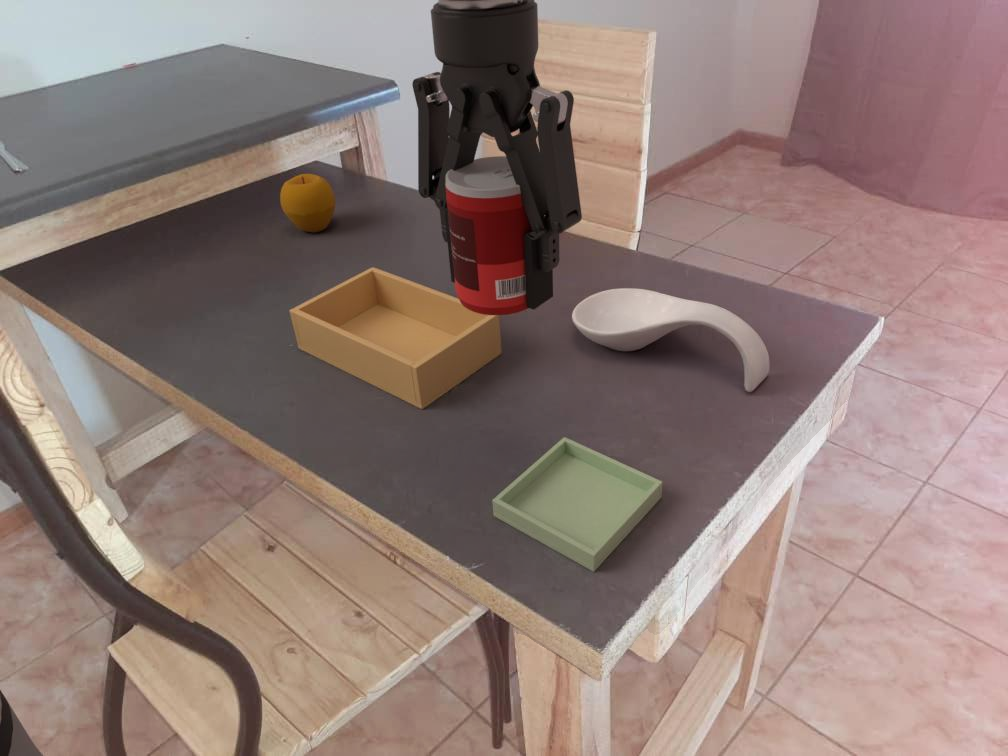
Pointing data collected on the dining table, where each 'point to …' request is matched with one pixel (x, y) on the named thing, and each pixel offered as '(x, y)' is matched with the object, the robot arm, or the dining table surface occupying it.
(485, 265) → the canned food
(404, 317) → the open wooden box
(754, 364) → the spoon rest
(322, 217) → the apple
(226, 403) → the dining table surface
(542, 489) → the tray
